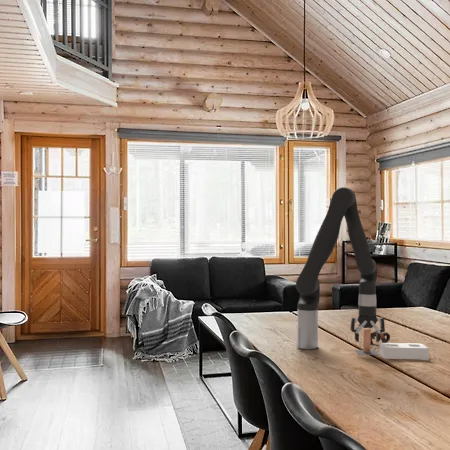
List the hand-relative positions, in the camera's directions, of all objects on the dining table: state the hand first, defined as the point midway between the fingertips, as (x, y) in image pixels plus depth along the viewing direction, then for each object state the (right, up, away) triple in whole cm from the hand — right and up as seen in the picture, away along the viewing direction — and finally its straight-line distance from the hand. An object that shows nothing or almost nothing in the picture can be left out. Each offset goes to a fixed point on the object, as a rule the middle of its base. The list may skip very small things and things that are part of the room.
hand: (367, 341), depth 236 cm
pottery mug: (+9, -6, +15) cm, 18 cm away
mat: (0, -5, 0) cm, 5 cm away
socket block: (+13, -5, -6) cm, 16 cm away
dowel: (0, -5, 0) cm, 5 cm away
